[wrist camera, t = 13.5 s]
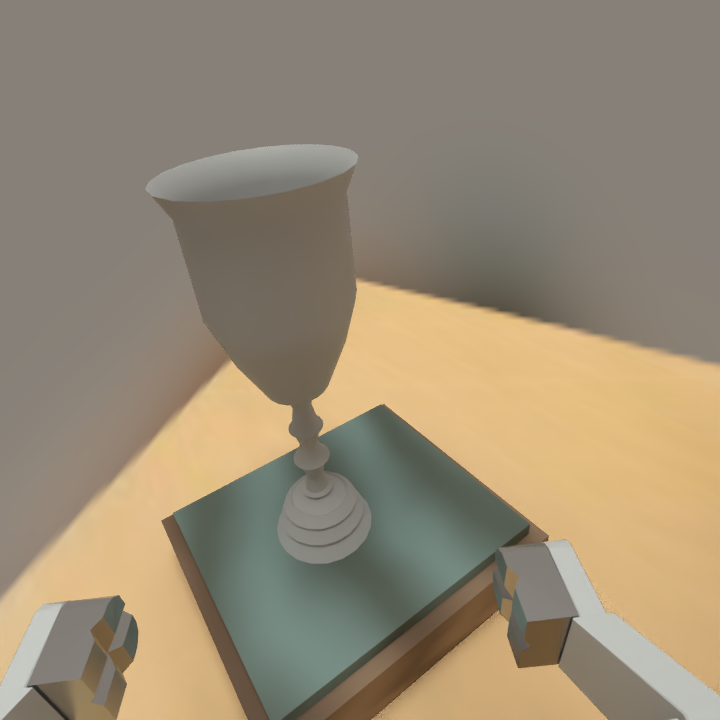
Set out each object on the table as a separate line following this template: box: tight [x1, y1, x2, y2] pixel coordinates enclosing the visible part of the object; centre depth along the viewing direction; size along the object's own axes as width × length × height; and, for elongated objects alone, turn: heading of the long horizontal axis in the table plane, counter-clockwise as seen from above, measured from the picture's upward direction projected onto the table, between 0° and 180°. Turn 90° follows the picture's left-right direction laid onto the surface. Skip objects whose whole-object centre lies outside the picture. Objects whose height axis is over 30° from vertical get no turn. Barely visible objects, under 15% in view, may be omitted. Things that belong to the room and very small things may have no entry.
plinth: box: [162, 404, 549, 720], centre depth 27 cm, size 16×14×4 cm
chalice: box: [146, 144, 371, 564], centre depth 21 cm, size 7×7×18 cm
